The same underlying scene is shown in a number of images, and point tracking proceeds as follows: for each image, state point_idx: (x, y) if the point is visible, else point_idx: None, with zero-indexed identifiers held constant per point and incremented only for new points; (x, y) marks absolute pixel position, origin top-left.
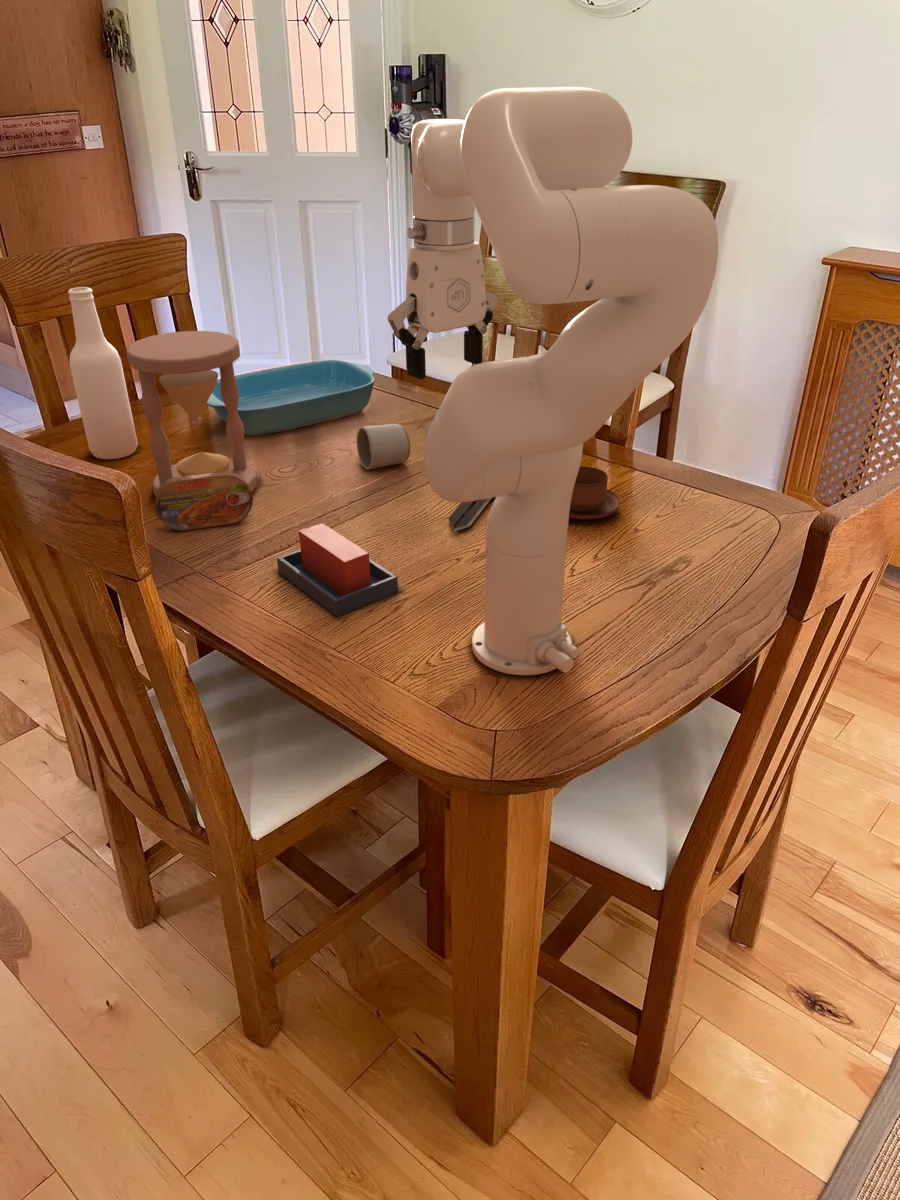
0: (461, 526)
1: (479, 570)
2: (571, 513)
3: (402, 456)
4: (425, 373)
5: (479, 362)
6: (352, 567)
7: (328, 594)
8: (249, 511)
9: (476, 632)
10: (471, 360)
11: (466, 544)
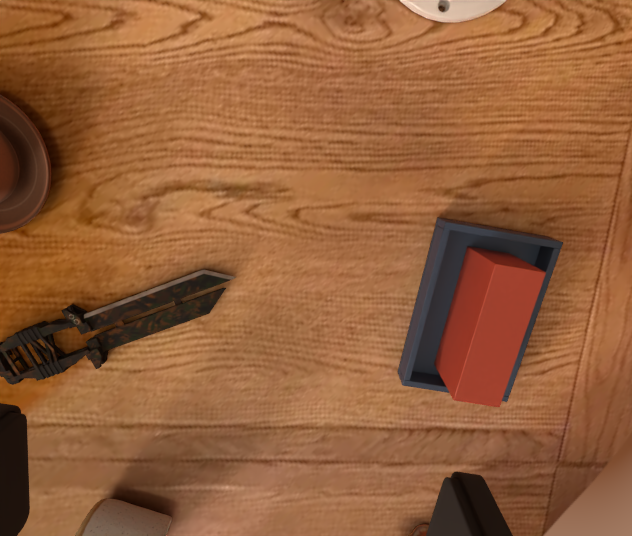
0: (216, 277)
1: (300, 161)
2: (23, 164)
3: (113, 504)
4: (456, 493)
5: (5, 410)
6: (522, 265)
7: (552, 265)
8: (414, 529)
9: (488, 5)
10: (17, 471)
11: (246, 238)
